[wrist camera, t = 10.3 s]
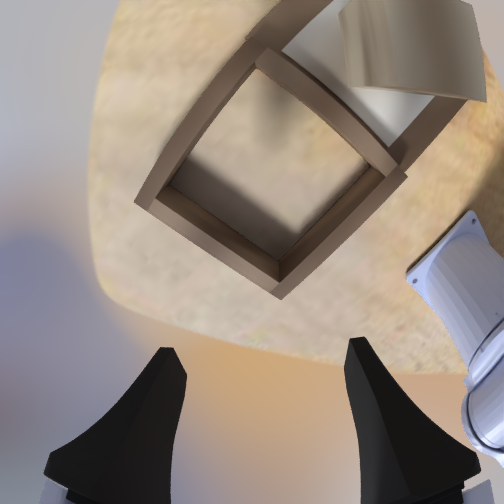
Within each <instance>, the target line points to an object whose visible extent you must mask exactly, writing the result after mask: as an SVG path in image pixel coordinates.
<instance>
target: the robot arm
mask: <svg viewBox="0 0 504 504" xmlns="http://www.w3.org/2000/svg"><path fill="white" fill-rule="evenodd" d="M472 220H473V221H472ZM405 278H406V280H407V282H408V283H409V284H410V285H411V286H412V287H413V288H414V289H415V290H416V291H417V293H418V294H419V295H420V296H421V297H422V298H423V299H424V300H425V301H426V303H427V304H428V305H429V306H430V307H431V308H432V309H433V310H434V312H435V313H436V314H437V315H438V316H439V317H440V319H441V320H442V322H443V323H444V325H445V327H446V329H447V331H448V332H449V334H450V336H451V338H452V340H453V342H454V344H455V345H456V347H457V349H458V351H459V353H460V355H461V357H462V359H463V361H464V363H465V365H466V367H467V370H468V372H469V373H468V375H467V376H466V378H465V379H464V383H465V385H466V388H467V390H468V392H467V393H466V395H465V397H464V399H463V403H462V408H461V418H462V425H463V428H464V431H465V434H466V436H467V438H468V439H469V441H470V442H471V444H472V445H473V446H474V447H475V448H476V449H477V450H479V451H480V452H482V453H485V454H488V455H490V456H492V457H494V458H495V459H496V460H497V461H498V462H499V463H500V464H501V466H502V467H503V468H504V259H503V258H502V257H501V256H500V255H499V254H498V253H497V252H496V251H495V250H494V249H493V248H492V247H491V246H490V243H489V241H488V239H487V237H486V234H485V232H484V230H483V228H482V226H481V224H480V222H479V220H478V217H477V215H476V214H475V212H474V211H473V210H468V211H467V212H466V213H465V215H464V216H463V217H462V218H461V219H460V220H459V221H458V222H457V223H456V225H455V226H454V227H453V228H452V229H451V230H450V231H449V232H448V233H447V234H446V235H445V236H444V237H443V238H442V239H441V240H440V241H439V242H438V243H437V244H436V245H435V246H434V247H433V248H432V249H431V250H430V251H429V252H428V253H427V254H426V255H425V256H424V257H423V258H422V259H421V260H420V261H419V262H418V263H417V264H416V265H415V266H414V267H413V268H412V269H411V270H409V271H408V272H407V274H406V276H405ZM415 278H416V279H415ZM413 279H415V280H413ZM344 373H345V380H346V388H347V393H348V397H349V401H350V406H351V410H352V413H353V418H354V422H355V427H356V431H357V437H358V444H359V455H360V470H361V504H494V498H493V493H492V487H491V482H490V480H486V481H484V482H482V483H480V484H479V485H477V486H475V487H473V488H471V489H468V490H466V491H463V492H462V490H461V489H463V488H464V487H465V486H464V481H465V480H467V479H469V478H471V477H473V476H475V475H477V474H479V473H480V472H481V467H480V463H479V459H478V457H477V454H476V452H474V451H472V450H470V449H469V448H467V447H466V446H464V445H462V444H461V443H459V442H458V441H457V440H455V439H454V438H453V437H451V436H450V435H448V434H447V433H446V432H445V431H444V430H442V429H441V428H440V427H439V426H438V425H436V424H435V423H434V422H433V421H431V419H430V418H429V417H427V416H426V415H425V414H424V413H423V412H422V411H421V410H420V409H419V408H418V407H417V406H416V405H415V404H414V402H413V401H412V400H411V399H410V398H409V397H408V396H407V394H406V393H405V392H404V391H403V390H402V388H401V387H400V386H399V385H398V383H397V382H396V381H395V380H394V378H393V377H392V376H391V374H390V373H389V372H388V370H387V369H386V367H385V366H384V365H383V363H382V362H381V360H380V359H379V357H378V356H377V354H376V353H375V351H374V350H373V348H372V347H371V345H370V344H369V342H368V340H367V339H366V338H365V337H357V338H350V339H349V345H348V350H347V355H346V360H345V365H344ZM186 380H187V374H186V372H185V370H184V368H183V366H182V364H181V362H180V360H179V358H178V357H177V354H176V352H175V350H174V348H169V347H167V348H165V347H160V348H159V350H158V351H157V352H156V353H155V355H154V356H153V357H152V359H151V360H150V362H149V363H148V364H147V366H146V367H145V368H144V370H143V371H142V372H141V374H140V375H139V376H138V377H137V379H136V380H135V381H134V383H133V384H132V385H131V386H130V388H129V389H128V390H127V391H126V392H125V394H124V395H123V396H122V397H121V398H120V400H119V401H118V402H117V403H116V404H115V405H114V406H113V407H112V408H111V409H110V410H109V411H108V412H107V413H106V414H105V415H104V416H103V417H102V418H101V419H100V420H99V421H97V422H96V423H95V424H94V425H93V426H91V427H90V428H89V429H88V430H87V431H85V432H84V433H82V434H81V435H80V436H78V437H77V438H75V439H74V440H72V441H71V442H69V443H68V444H66V445H64V446H62V447H61V448H59V449H57V450H55V451H53V452H51V453H50V455H49V458H48V461H47V464H46V467H45V470H44V475H45V476H47V477H48V478H50V479H52V480H53V481H55V482H57V483H59V484H61V485H63V486H64V487H66V488H68V490H67V489H65V488H62V487H60V486H59V485H57V484H55V483H53V482H51V481H49V480H46V481H45V484H44V488H43V491H42V495H41V499H40V502H39V504H171V494H170V486H171V484H170V483H171V482H170V481H171V463H172V451H173V444H174V438H175V434H176V430H177V426H178V422H179V418H180V413H181V409H182V405H183V401H184V397H185V390H186Z"/></svg>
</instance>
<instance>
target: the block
mask: <svg viewBox="0 0 504 504" xmlns="http://www.w3.org/2000/svg"><path fill="white" fill-rule="evenodd" d="M338 16H339V22H340V27H341V33H342V40H343V46H344V54H345V61H346V69H347V79H348V88H357V89H374V90H387V91H397V92H405V93H413V94H420V95H433V96H444V97H453V98H461V99H468V100H474V101H480V102H486V103H487V98H486V82H485V71H484V63H483V55H482V49H481V43H480V37H479V32H478V28H477V23H476V19H475V15H474V11H473V8H472V5H470V4H468V3H466V2H463V1H461V0H351V1H350V2H349V3H348V4H347V5H346V6H345V7H344V8H343V9H342V10H341V11H340V12H339V13H338Z"/></svg>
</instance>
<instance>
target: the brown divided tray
mask: <svg viewBox="0 0 504 504" xmlns="http://www.w3.org/2000/svg"><path fill="white" fill-rule="evenodd" d="M350 1H351V0H282V1H281V2H280V3H279V4H278V5H277V6H276V7H274V8H273V9H272V10H271V11H270V12H269V13H268V14H267V15H266V16H265V17H264V18H263V19H262V20H261V21H260V22H259V23H258V24H257V25H256V26H255V27H254V28H253V29H252V31H251V32H250V33H249V34H248V35H247V36H246V37H245V40H246V42H245V43H244V44H243V45H242V47H241V48H240V49H239V50H238V51H237V52H236V53H235V55H234V56H233V57H232V58H231V59H230V60H229V62H228V63H227V64H226V65H225V66H224V68H223V69H222V70H221V71H220V72H219V74H218V75H217V76H216V77H215V79H214V80H213V81H212V82H211V84H210V85H209V86H208V88H207V89H206V90H205V91H204V93H203V94H202V95H201V97H200V98H199V99H198V101H197V102H196V103H195V105H194V106H193V108H192V109H191V110H190V112H189V113H188V115H187V116H186V117H185V119H184V120H183V122H182V123H181V125H180V126H179V128H178V129H177V131H176V132H175V134H174V135H173V137H172V138H171V140H170V141H169V143H168V144H167V146H166V147H165V149H164V151H163V152H162V154H161V155H160V157H159V159H158V160H157V162H156V164H155V165H154V167H153V169H152V170H151V172H150V174H149V175H148V177H147V179H146V181H145V182H144V184H143V186H142V188H141V189H140V191H139V193H138V195H137V197H136V199H135V200H134V203H136V204H137V205H139V206H140V207H141V208H143V209H144V210H146V211H147V212H149V213H150V214H152V215H153V216H154V217H156V218H157V219H159V220H160V221H162V222H163V223H165V224H166V225H168V226H169V227H170V228H172V229H173V230H175V231H176V232H178V233H179V234H181V235H182V236H184V237H185V238H187V239H188V240H190V241H191V242H193V243H194V244H196V245H197V246H199V247H200V248H202V249H203V250H205V251H206V252H208V253H209V254H211V255H212V256H214V257H215V258H217V259H218V260H220V261H221V262H223V263H224V264H226V265H227V266H229V267H230V268H232V269H233V270H235V271H236V272H238V273H239V274H241V275H242V276H244V277H246V278H247V279H249V280H250V281H252V282H253V283H255V284H256V285H258V286H259V287H261V288H263V289H264V290H266V291H267V292H269V293H270V294H272V295H273V296H275V297H277V298H278V299H280V300H282V299H283V298H284V297H285V296H286V295H287V294H289V293H290V292H291V291H292V290H293V289H294V288H295V287H296V286H297V285H299V284H300V283H301V282H302V281H303V280H304V279H305V278H306V277H307V276H308V275H310V274H311V273H312V272H313V271H314V270H315V269H316V268H317V267H318V266H319V265H320V264H321V263H322V262H324V261H325V260H326V259H327V258H328V257H329V256H330V255H331V254H332V253H333V252H334V251H335V250H336V249H337V248H338V247H339V246H340V245H341V244H342V243H344V242H345V241H346V240H347V239H348V238H349V237H350V236H351V235H352V234H353V233H354V232H355V231H356V230H357V229H358V228H359V227H360V226H361V225H362V224H363V223H364V222H365V221H366V220H367V219H368V218H369V217H370V216H371V215H372V214H373V213H374V212H375V211H376V210H377V209H378V208H379V207H380V206H381V205H382V204H383V203H384V202H385V201H386V200H387V198H388V197H389V196H390V195H391V194H392V193H393V192H394V191H395V190H396V189H397V188H398V187H399V186H400V185H401V184H402V183H403V182H404V181H405V179H406V178H407V177H408V176H407V175H406V174H405V173H404V172H405V171H406V170H407V169H408V168H409V167H410V166H411V165H412V164H413V163H414V161H415V160H416V159H417V158H418V157H419V156H420V155H421V154H422V153H423V151H424V150H425V149H426V148H427V147H428V146H429V145H430V144H431V142H432V141H433V140H434V139H435V138H436V137H437V136H438V134H439V133H440V132H441V131H442V130H443V129H444V127H445V126H446V125H447V124H448V123H449V122H450V120H451V119H452V118H453V117H454V116H455V114H456V113H457V112H458V111H459V110H460V108H461V107H462V106H463V105H464V103H465V102H466V101H467V100H468V99H461V98H453V97H444V96H433V95H420V94H413V93H405V92H397V91H387V90H374V89H357V88H348V79H347V69H346V61H345V54H344V46H343V40H342V33H341V27H340V22H339V16H338V13H339V12H340V11H341V10H342V9H343V8H344V7H345V6H346V5H347V4H348V3H349V2H350ZM256 68H257V69H259V70H260V71H262V72H263V73H265V74H266V75H267V76H269V77H270V78H271V79H273V80H274V81H276V82H277V83H278V84H280V85H281V86H282V87H284V88H285V89H286V90H287V91H289V92H290V93H291V94H293V95H294V96H295V97H296V98H298V99H299V100H300V101H301V102H303V103H304V104H305V105H306V106H307V107H309V108H310V109H311V110H312V111H313V112H314V113H316V114H317V115H318V116H319V117H320V118H321V119H323V120H324V121H325V122H326V123H327V124H328V125H329V126H330V127H332V128H333V129H334V130H335V131H336V132H337V133H338V134H339V135H340V136H341V137H342V138H343V139H344V140H345V141H347V142H348V143H349V144H350V145H351V146H352V147H353V148H354V149H355V150H356V151H357V152H358V153H359V154H360V155H361V156H362V157H363V158H364V159H365V160H366V161H367V162H368V163H369V164H370V167H369V168H368V169H367V170H366V171H365V173H364V174H363V175H362V176H361V177H360V178H359V179H358V180H357V181H356V182H355V183H354V184H353V185H352V186H351V187H350V188H349V189H348V190H347V192H346V193H345V194H344V195H343V196H342V197H341V198H340V199H339V200H338V201H337V202H336V203H335V204H334V205H333V206H332V207H331V208H330V209H329V210H328V211H327V212H326V213H325V214H324V215H323V216H322V217H321V218H320V220H319V221H318V222H317V223H316V224H315V225H314V226H313V227H312V228H311V229H310V230H309V231H308V232H307V233H306V234H305V235H304V236H303V237H302V238H301V239H300V240H299V241H298V242H297V243H296V244H295V245H294V246H293V247H292V248H291V249H290V250H289V251H288V252H287V253H286V254H285V255H284V256H283V257H282V258H281V259H280V260H279V261H277V260H276V259H274V258H273V257H272V256H270V255H269V254H267V253H266V252H264V251H263V250H262V249H260V248H259V247H257V246H256V245H254V244H253V243H252V242H250V241H249V240H247V239H246V238H245V237H243V236H242V235H240V234H239V233H237V232H236V231H235V230H233V229H232V228H230V227H229V226H227V225H226V224H225V223H223V222H222V221H220V220H219V219H217V218H216V217H215V216H213V215H212V214H210V213H209V212H207V211H206V210H204V209H203V208H202V207H200V206H199V205H197V204H196V203H194V202H193V201H192V200H190V199H189V198H187V197H186V196H184V195H183V194H181V193H180V192H179V191H177V190H176V189H174V188H173V187H171V186H170V185H169V184H170V182H171V180H172V179H173V177H174V176H175V174H176V173H177V171H178V170H179V168H180V167H181V165H182V164H183V162H184V161H185V159H186V158H187V156H188V155H189V154H190V152H191V151H192V149H193V148H194V146H195V145H196V144H197V142H198V141H199V139H200V138H201V137H202V135H203V134H204V132H205V131H206V130H207V128H208V127H209V126H210V124H211V123H212V122H213V120H214V119H215V118H216V116H217V115H218V114H219V112H220V111H221V110H222V109H223V107H224V106H225V105H226V104H227V102H228V101H229V100H230V99H231V97H232V96H233V95H234V94H235V92H236V91H237V90H238V89H239V87H240V86H241V85H242V84H243V83H244V82H245V80H246V79H247V78H248V77H249V76H250V75H251V73H252V72H253V71H254V70H255V69H256Z"/></svg>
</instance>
